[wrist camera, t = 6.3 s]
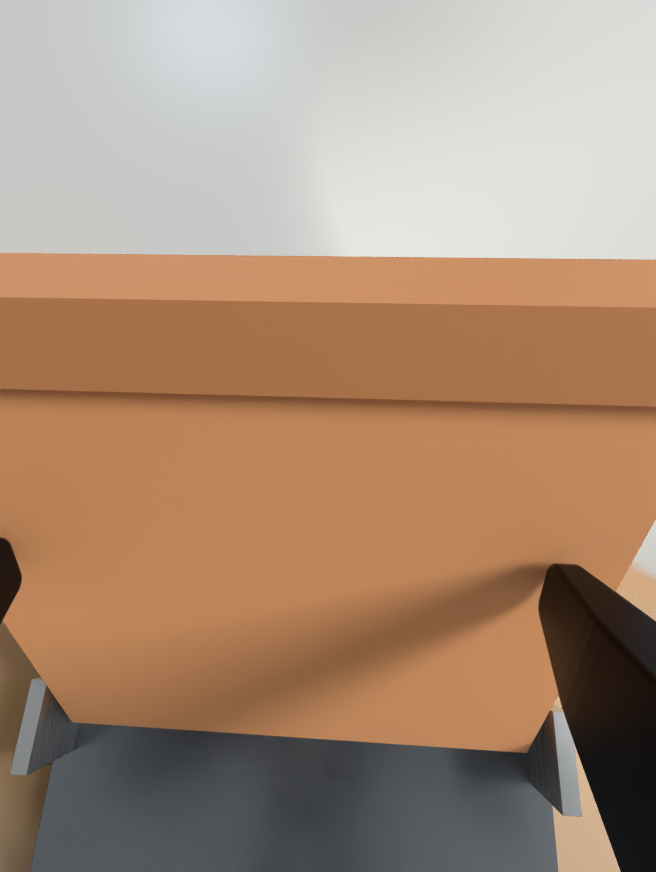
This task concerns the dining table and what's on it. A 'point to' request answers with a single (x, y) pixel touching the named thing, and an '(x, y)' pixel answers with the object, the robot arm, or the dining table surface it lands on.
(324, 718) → the orange lever
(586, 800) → the dining table surface
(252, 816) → the panel
